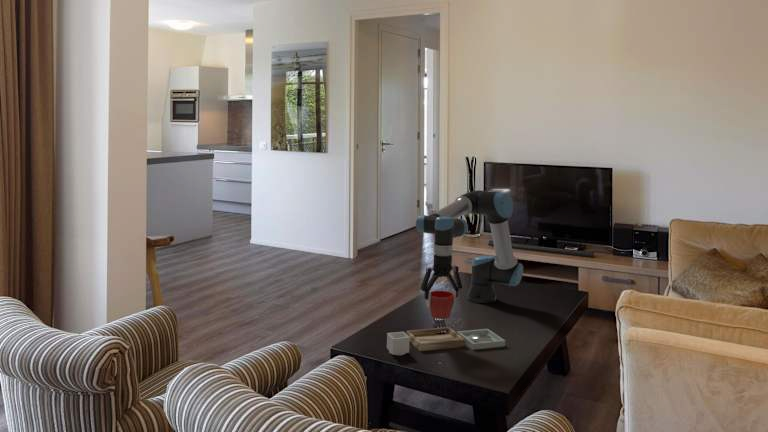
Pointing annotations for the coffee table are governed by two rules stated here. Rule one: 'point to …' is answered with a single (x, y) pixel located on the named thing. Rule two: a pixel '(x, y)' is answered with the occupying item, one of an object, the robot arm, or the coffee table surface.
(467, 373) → the coffee table surface
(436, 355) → the coffee table surface
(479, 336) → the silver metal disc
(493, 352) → the coffee table surface
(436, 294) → the flower pot
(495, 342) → the pale green square tray
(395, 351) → the white faceted planter
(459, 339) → the wooden tray
